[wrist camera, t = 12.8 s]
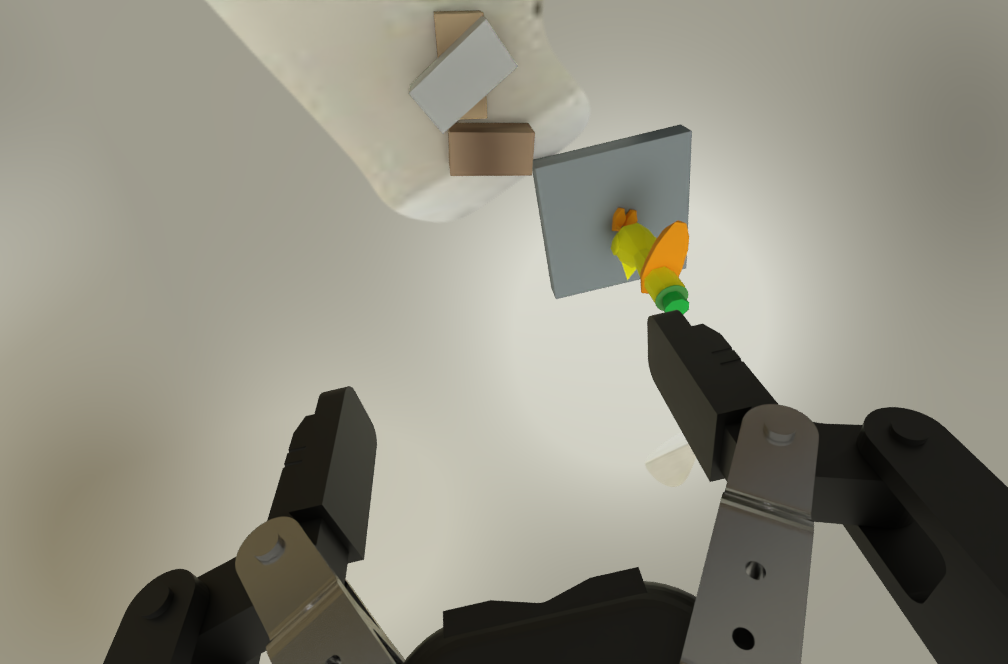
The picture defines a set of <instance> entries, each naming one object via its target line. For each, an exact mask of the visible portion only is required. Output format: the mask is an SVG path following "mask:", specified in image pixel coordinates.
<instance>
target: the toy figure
mask: <svg viewBox="0 0 1008 664" xmlns="http://www.w3.org/2000/svg"><path fill="white" fill-rule="evenodd" d="M637 221H638V219H637V211H636V210H631V209H630V210H629V211H628V213H627V214H626V215H625V209H624V208H617V210H616V211H615V213H614V215H613V220H612V231H618V232H617V234H616V235H615V237H614V238H613V240H612V244H611V250H612V253H613V255H617V257H618V258H619V260H620V261H621V262H622V265H623V268H624V271H625V274H626V277H627V280H628V279H629V278H630V276H631V275H632V274H633V273H634V271H635V270H636V269H637V271H638V274H639V276H640V279H641V292H642V293H647V294H650V296H651V297H652V299H653V301H654V302H655V304H656V306H657V307H658V308H659V309H660V310H663V311H664V312H669V311H673V310H679V311H680V312H681V313H682V314H684V313H685V312H687V310H689V302H688V301H687V298H688V291H687V289H686V288H685V286H684V284H683V283H682V282H681V280H680V279H679V278H678V277H679V275H680V272H681V270H682V268H683V265H684V261H685V258H686V255H687V251H688V244H689V234H688V229H687V224H686V223H684V222H682V221H679V220H677V221H676V222H674V223H672V224H671V225H669V226H667V227H666V228H665V229H664V230H663V231H662V232H661V233H660V235H659V236H658V238H656V237H654V235H653V234H652V233H651V232H650V230H649V229H647V228H645V227H644V226H642V225H641V224H639V223H637ZM622 226H623V227H622ZM621 227H622V228H621Z"/></svg>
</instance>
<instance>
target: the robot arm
mask: <svg viewBox="0 0 1008 664" xmlns="http://www.w3.org/2000/svg"><path fill="white" fill-rule="evenodd" d="M647 326H648V362H649V368H650V372H651V375H652V378H653V380H654V382H655V384H656V386H657V388H658V390H659V391H660V393H661V395H662V397H663V398H664V400H665V402H666V404H667V406H668V407H669V409H670V411H671V413H672V415H673V416H674V418H675V420H676V422H677V423H678V425H679V427H680V429H681V431H682V433H683V434H684V436H685V438H686V440H687V442H688V443H689V445H690V447H691V449H692V451H693V452H694V454H695V456H696V458H697V459H698V461H699V463H700V465H701V467H702V468H703V470H704V472H705V474H706V475H707V477H708V479H709V481H710V482H711V481H716V480H720V479H724V478H725V479H726V481H727V485H726V488H725V492H723V494H722V497H721V501H720V505H719V509H718V513H717V517H716V521H715V525H714V529H713V533H712V537H711V541H710V545H709V549H708V553H707V557H706V561H705V565H704V568H703V573H702V577H701V581H700V585H699V588H698V592H697V596H696V597H695V596H694V595H692V594H690V593H688V592H685V591H683V590H681V589H679V588H676V587H672V586H669V585H666V584H661V583H656V582H646V581H643V579H642V576H641V573H640V570H639V568H638V567H636V568H632V569H628V570H623V571H619V572H615V573H610V574H605V575H601V576H596V577H593V578H589V579H587V580H585V581H583V582H582V583H580V584H578V585H576V586H574V587H572V588H571V589H569V590H567V591H565V592H563V593H561V594H559V595H558V596H556V597H554V598H552V599H550V600H548V601H546V602H543V603H527V602H510V601H492V600H490V601H486V602H482V603H477V604H473V605H468V606H464V607H460V608H455V609H451V610H446V611H443V628H441V629H439V630H438V631H436V632H435V633H433V634H432V635H430V636H429V637H428V638H426V639H425V640H424V641H423V642H422V643H421V644H420V645H418V646H417V647H416V648H415V650H414V651H413V652H412V653H411V654H410V655H409V656H408V657H407V659H406V660H405V659H404V658H403V656H402V655H401V654H400V652H399V651H398V650H397V649H396V647H395V646H394V645H393V644H392V642H391V641H390V640H389V638H388V637H387V636H386V634H385V633H384V632H383V630H382V629H381V627H380V626H379V624H378V623H377V622H376V620H375V619H374V617H373V616H372V615H371V613H370V612H369V610H368V609H367V608H366V606H365V605H364V603H363V602H362V601H361V599H360V598H359V596H358V595H357V594H356V592H355V591H354V589H353V588H352V587H351V585H350V584H349V582H348V581H347V580H346V579H345V578H346V571H347V564H348V563H351V562H355V561H360V560H364V554H365V545H366V536H367V527H368V518H369V510H370V501H371V492H372V483H373V475H374V465H375V457H376V448H377V439H376V433H375V429H374V426H373V424H372V422H371V420H370V418H369V416H368V414H367V413H366V411H365V409H364V407H363V405H362V404H361V402H360V400H359V398H358V396H357V394H356V392H355V391H354V389H353V388H352V387H350V386H348V387H344V388H340V389H336V390H331V391H327V392H323V393H321V394H320V396H319V399H318V403H317V407H316V411H315V414H313V415H309V416H306V417H305V418H304V419H303V421H302V422H301V423H300V425H299V426H298V428H297V429H296V430H295V432H294V433H293V437H292V440H291V444H290V447H289V453H288V454H287V457H286V460H285V463H284V465H285V467H284V468H283V470H282V473H281V477H280V480H279V483H278V487H277V490H276V493H275V497H274V500H273V503H272V507H271V510H270V513H269V517H268V520H267V521H266V522H265V523H263V524H261V525H260V526H258V527H257V528H256V529H255V530H253V531H252V532H251V534H249V535H248V537H247V538H246V539H245V540H244V542H243V543H242V545H241V547H240V548H239V550H238V553H237V556H236V557H235V558H233V559H231V560H229V561H228V562H226V563H224V564H222V565H220V566H218V567H216V568H214V569H212V570H210V571H209V572H207V573H205V574H203V575H201V576H199V577H196V576H194V575H193V574H192V573H191V572H189V571H187V570H184V569H176V570H171V571H169V572H166V573H164V574H162V575H160V576H158V577H157V578H155V579H153V580H152V581H151V582H150V583H148V584H147V585H146V586H145V587H144V588H143V589H142V590H141V591H140V592H139V593H138V594H137V595H136V596H135V598H134V599H133V600H132V602H131V603H130V605H129V606H128V608H127V610H126V612H125V614H124V617H123V619H122V621H121V623H120V626H119V628H118V630H117V633H116V635H115V637H114V640H113V642H112V644H111V647H110V649H109V651H108V653H107V656H106V658H105V661H104V663H103V664H259V661H260V656H261V653H263V652H265V651H267V654H268V656H269V658H270V661H271V662H272V664H801V656H802V646H803V636H804V626H805V616H806V605H807V595H808V586H809V576H810V565H811V555H812V544H813V534H814V522H825V523H836V524H843V525H844V527H845V528H846V530H847V531H848V533H849V534H850V536H851V537H852V539H853V540H854V541H855V543H856V544H857V546H858V547H859V549H860V550H861V552H862V553H863V555H864V556H865V558H866V559H867V561H868V562H869V564H870V565H871V566H872V568H873V569H874V571H875V572H876V574H877V575H878V577H879V578H880V580H881V581H882V582H883V584H884V586H885V587H886V589H887V590H888V591H889V593H890V594H891V596H892V597H893V599H894V600H895V601H896V603H897V605H898V606H899V607H900V609H901V611H902V612H903V613H904V615H905V616H906V618H907V619H908V621H909V622H910V624H911V625H912V627H913V628H914V630H915V631H916V633H917V634H918V635H919V637H920V638H921V640H922V641H923V643H924V644H925V646H926V647H927V649H928V650H929V652H930V653H931V654H932V656H933V657H934V659H935V660H936V662H937V663H938V664H1008V487H1007V486H1006V485H1004V483H1003V482H1002V481H1000V480H999V479H998V478H997V477H996V476H995V475H994V474H993V473H992V472H991V471H990V470H989V469H988V468H987V467H986V466H985V465H984V464H983V463H982V462H980V460H978V459H977V458H976V457H975V456H974V455H973V454H972V453H971V452H970V451H969V450H968V449H967V448H966V447H965V446H964V445H963V444H962V443H961V442H960V441H959V440H957V439H956V438H955V437H954V436H953V435H952V434H951V433H950V432H949V431H948V430H947V429H946V428H945V427H944V426H942V425H941V424H940V423H939V422H937V421H936V420H934V419H933V418H931V417H929V416H927V415H924V414H922V413H920V412H917V411H913V410H910V409H905V408H898V407H888V408H881V409H877V410H875V411H872V412H871V413H870V414H868V415H867V417H866V418H865V421H864V423H863V425H845V424H823V423H815V422H812V421H811V420H810V419H809V418H808V417H807V416H806V415H804V414H803V413H801V412H799V411H798V410H796V409H793V408H790V407H787V406H783V405H778V403H777V402H776V401H775V400H774V398H773V397H772V396H771V395H770V394H769V392H768V391H767V390H766V389H765V387H764V386H763V385H762V384H761V383H760V382H759V380H758V379H757V378H756V376H755V375H754V374H753V373H752V372H751V370H750V369H749V368H748V367H747V366H746V364H745V363H744V362H742V361H741V358H740V357H739V356H738V355H737V354H736V352H735V351H734V350H732V347H731V346H730V345H729V344H728V342H727V341H726V340H725V339H724V337H723V336H722V335H721V334H720V333H718V332H716V331H715V330H713V329H711V328H709V327H707V326H706V325H704V324H699V325H696V326H691V325H690V324H689V322H688V321H687V320H686V318H685V317H684V316H683V314H682V313H681V312H680V311H679V310H673V311H669V312H665V313H661V314H657V315H652V316H649V317H648V322H647Z"/></svg>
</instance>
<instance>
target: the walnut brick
mask: <svg viewBox="0 0 1008 664" xmlns="http://www.w3.org/2000/svg"><path fill="white" fill-rule="evenodd" d="M448 138H449V166H450V175H451V176H519V175H532V167H533V152H534V138H535V132H534V131H533V129H532V128H531V126H530V125H529V123H455V124H453V125H452V126H451V127H450V128H449V129H448Z"/></svg>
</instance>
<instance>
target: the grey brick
mask: <svg viewBox="0 0 1008 664" xmlns="http://www.w3.org/2000/svg"><path fill="white" fill-rule="evenodd" d="M517 67H518V65H517V64H516V62H515V61H514V59H513V58H512V56H511V55H510V53H509V52H508V50H507V49H506V47H505V46H504V45H503V43H502V42H501V40H500V39H499V37H498V36H497V34H496V33H495V31H494V30H493V28H492V27H491V25H490V24H489V22H488V21H487V19H486V18H484V17H483V16H481V17H480V18H479V19H478V20H477V21H476V22H475V23H474V24H473V25H471V26H470V27H469V28H468V29H467V30H466V31H465V32H464V33H463V34H462V35H461V36H460V37H459V38H458V39H457V40H456V41H455V42H454V43H453V44H452V45H451V46H450V47H449V48H448V49H447V50H446V51H445V52H444V53H442V54H441V55H440V56H439V57H438V58H437V59H436V60H435V61H434V62H433V63H432V64H431V65H430V66H429V67H428V68H427V69H426V70H425V71H424V72H423V73H422V74H421V75H420V76H419V77H418V78H417V79H416V80H415V81H413V82H412V83H411V84H410V89H409V94H410V96H411V97H412V98H413V99H414V100H415V102H416V103H417V104H418V105H419V106H420V107H421V109H422V110H423V111H424V112H425V113H426V115H427V116H428V117H429V118H430V119H431V121H432V122H433V123H434V124H435V125H436V127H437V128H438V129H439V130H440V131H441V132H442V134H444V133H445V132H446V131H447V130H448V129H449V128H450V127H451V126H452V125H453V124H455V123H456V122H457V121H458V120H459V119H460V118H461V117H462V116H463V115H465V114H466V113H467V112H468V111H469V110H470V109H471V108H472V107H473V106H475V105H476V104H477V103H478V102H479V101H480V100H481V99H482V98H483V97H485V96H486V95H487V94H488V93H489V92H490V91H491V90H492V89H493V88H495V87H496V86H497V85H498V84H499V83H500V82H501V81H502V80H503V79H505V78H506V77H507V76H508V75H509V74H510V73H511V72H512V71H513V70H515V69H516V68H517Z"/></svg>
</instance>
